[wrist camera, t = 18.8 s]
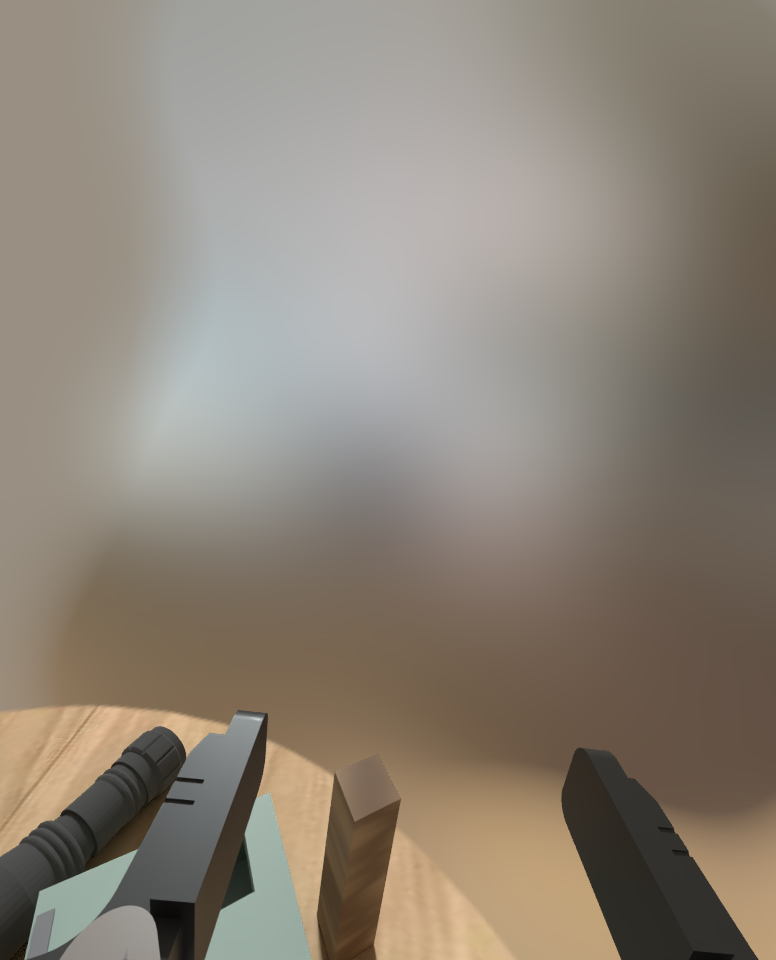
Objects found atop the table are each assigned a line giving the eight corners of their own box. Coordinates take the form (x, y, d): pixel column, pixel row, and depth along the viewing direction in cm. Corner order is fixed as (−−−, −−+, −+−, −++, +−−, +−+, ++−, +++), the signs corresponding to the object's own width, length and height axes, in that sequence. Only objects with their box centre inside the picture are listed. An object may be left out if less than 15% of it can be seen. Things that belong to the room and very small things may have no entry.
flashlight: (150, 753, 38) (149, 710, 37) (192, 776, 37) (192, 732, 35) (-69, 959, 24) (-83, 901, 23) (-16, 1012, 23) (-29, 952, 21)
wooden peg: (332, 972, 26) (354, 821, 22) (317, 914, 28) (335, 771, 25) (373, 943, 27) (400, 798, 24) (355, 891, 30) (377, 753, 27)
